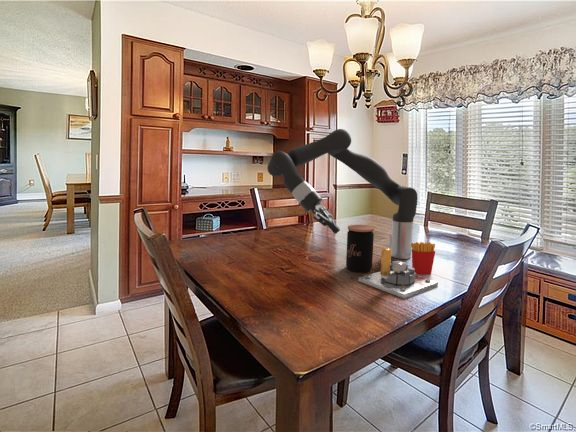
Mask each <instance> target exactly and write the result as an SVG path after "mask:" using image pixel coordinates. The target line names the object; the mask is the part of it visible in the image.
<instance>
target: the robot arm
mask: <svg viewBox="0 0 576 432" xmlns="http://www.w3.org/2000/svg"><path fill="white" fill-rule="evenodd" d="M351 144H352V137H351V134H350V133H349V132H348V130H346V129H343V128H338V129H335V130H333V131H332V132H330V133H329V134H327V135H326V136H323V138H320V139H318V140H315V141H313V142H310V143H309V142H308V143H307V144H303V145H299V146H297V147H295V148H293V149H290V150H288V152H287V153H286V152H285V151H283V150H277V151H275V152H274V153H273V154H272V155H271V158H270V160H269V162H268V164H267V168H266V169H267V172H268V174H269V175H271V176H272V177H275V178H276V177H277V178H279V177H280V178H281V177H283V185H284V186H285V188H286V189H287V190H288V191H289V192H290V193H291V195H292V196H293V197H294V199H295V201H296V202H297V203H298V204H299V205H300V207H302V208H303V210H305V212H306V213H309V212H312V214H313V215H314V216H313V219H314V220H315V221H317V222H318V223H320V224H321V225H323V226H324V227H327V228H329V230H331V232H333V234H338V232H340V231H341V229H340V227H339V226H338V225H337V224H336V223H335V221H334V220H335V218H334V216H333V214H332V212H331V210H330V208H326V207H325V206H324V205H322V204H321V202H322V201H323V198H322V197H321V196H320V195H319V193H318V192H317V191H316V189H315V188H314V187H312V185H311V184H310V183H309V182H307V181H306V179H305V178H304V177H303V176H302V175H301V174H300V172H299V171H298V168H297V167H300V166H303V165H306V164H308V163H310V162H312V161H314V160H316V159H318V158H320V157H321V156H323V155H326V154H328V155H330V156H331V157H333V158H334V159H336V160H337V161H339V162H341V163H343V164H344V165H345V166H347V167H348V168H349V169H351V170H352V171H353V172H355V173H356V174H357V175H358V176H360V177H361V178H363V179H364V180H365V181H366V182H367V183H369V184H370V185H372V186H373V187H374V188H376V189H377V190H379V191H380V192H382V193H383V194H384V195H385V196H386V197H387V199H389V200H390V201H391V202H392V203H393V204H395V205H396V206H398V210H397V212H396V213H394V214H393V215H392V226H391V227H392V228H391V234H390V236H389V243H388V245H389V246H388V248H389V249H391V258H395V259H398V260H399V259H403V260H404V259H406V260H408V259H412V247H411V243H413V229H414V219H415V217H416V214H417V208H418V192H417V190H416V189H415V188H414V187H411V186H405V185H401V184H399V183H397V182H396V181H395V180H393V179H392V178H391V177H390V176H389V175H388V173H387V170H386V169H385V167H384V166H383V165H381V164H380V163H379V162H378V161H376V160H375V159H374V158H372V157H371V156H368V155H366V154H365V155H364V154H360V153H356V152H355V151H352V150H350V149H349V148H350V146H351Z"/></svg>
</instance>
